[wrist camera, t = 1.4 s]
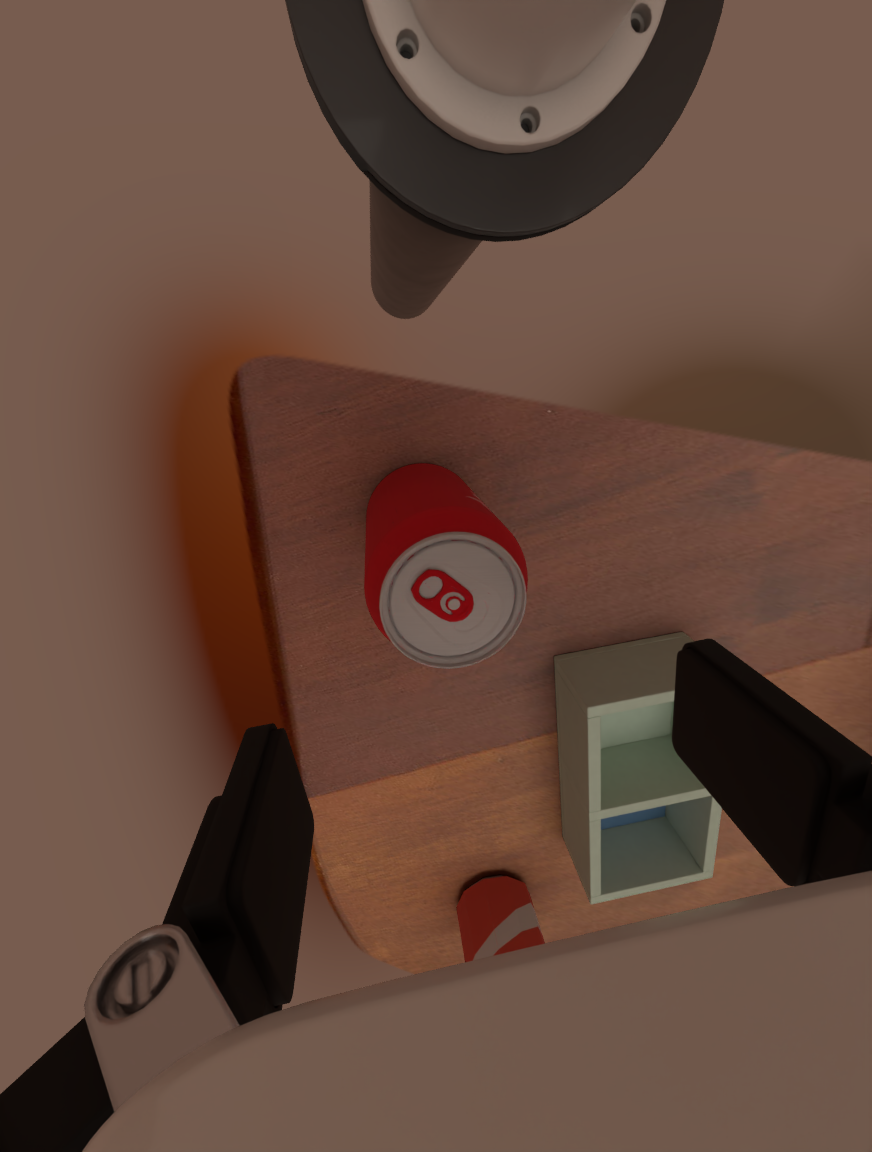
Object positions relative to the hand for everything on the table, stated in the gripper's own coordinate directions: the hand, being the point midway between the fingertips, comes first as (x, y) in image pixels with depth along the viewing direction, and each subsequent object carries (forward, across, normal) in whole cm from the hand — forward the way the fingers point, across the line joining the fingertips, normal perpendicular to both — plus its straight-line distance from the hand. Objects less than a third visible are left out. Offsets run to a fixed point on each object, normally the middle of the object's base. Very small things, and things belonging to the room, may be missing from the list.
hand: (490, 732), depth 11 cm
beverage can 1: (+18, 0, -1) cm, 18 cm away
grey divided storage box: (+18, -12, +19) cm, 29 cm away
